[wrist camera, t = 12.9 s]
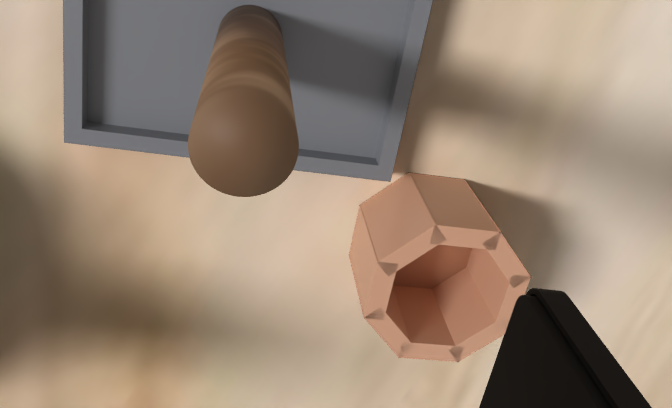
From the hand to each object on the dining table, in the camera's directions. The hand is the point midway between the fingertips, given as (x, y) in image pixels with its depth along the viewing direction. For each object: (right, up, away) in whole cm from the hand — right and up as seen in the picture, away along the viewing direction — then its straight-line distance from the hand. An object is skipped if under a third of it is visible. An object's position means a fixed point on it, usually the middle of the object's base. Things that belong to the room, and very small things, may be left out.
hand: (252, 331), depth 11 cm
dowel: (-3, +10, +19) cm, 21 cm away
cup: (+6, 0, +26) cm, 26 cm away
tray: (-3, +10, +20) cm, 22 cm away
